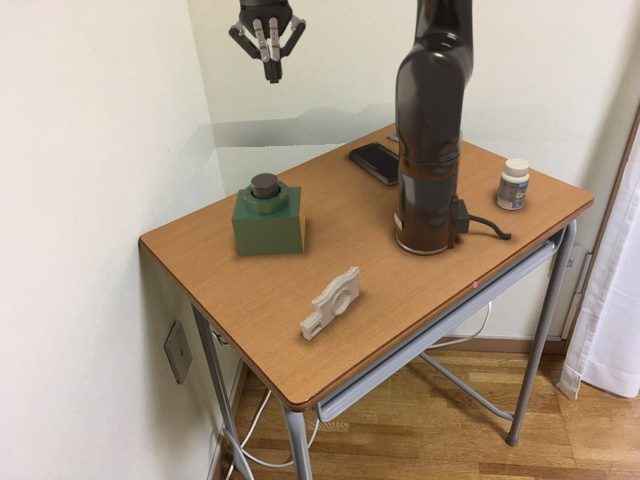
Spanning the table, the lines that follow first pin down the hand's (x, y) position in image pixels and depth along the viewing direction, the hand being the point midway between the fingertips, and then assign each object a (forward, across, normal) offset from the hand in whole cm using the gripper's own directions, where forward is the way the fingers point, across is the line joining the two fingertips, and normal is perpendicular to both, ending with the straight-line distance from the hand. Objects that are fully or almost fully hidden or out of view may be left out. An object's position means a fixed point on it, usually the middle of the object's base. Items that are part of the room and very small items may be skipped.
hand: (275, 81), depth 88 cm
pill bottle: (+24, +41, -6) cm, 48 cm away
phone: (+23, +19, +10) cm, 31 cm away
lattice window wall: (+24, +8, -32) cm, 41 cm away
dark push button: (+14, -2, -13) cm, 19 cm away
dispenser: (+23, -2, -13) cm, 27 cm away
